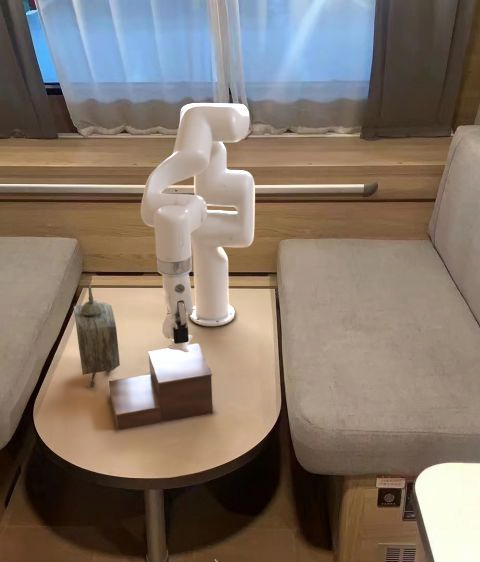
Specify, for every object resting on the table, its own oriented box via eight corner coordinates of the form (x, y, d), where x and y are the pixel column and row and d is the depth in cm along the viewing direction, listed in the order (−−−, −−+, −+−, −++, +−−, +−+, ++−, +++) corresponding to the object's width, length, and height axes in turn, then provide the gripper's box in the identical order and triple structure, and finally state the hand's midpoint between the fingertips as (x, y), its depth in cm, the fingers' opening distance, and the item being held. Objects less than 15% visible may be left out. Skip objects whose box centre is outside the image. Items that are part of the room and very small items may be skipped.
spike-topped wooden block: (80, 360, 195) (69, 274, 184) (115, 355, 197) (106, 269, 186) (85, 392, 183) (73, 302, 171) (122, 387, 185) (113, 297, 173)
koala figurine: (197, 353, 168) (195, 306, 163) (167, 358, 167) (164, 310, 161) (190, 335, 175) (188, 289, 170) (161, 338, 174) (158, 292, 169)
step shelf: (110, 396, 181) (106, 357, 176) (199, 381, 186) (198, 343, 181) (118, 430, 170) (113, 390, 165) (213, 413, 174) (212, 373, 169)
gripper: (200, 278, 156) (203, 352, 164) (182, 244, 170) (186, 314, 179) (164, 283, 154) (169, 357, 162) (149, 248, 169) (154, 318, 177)
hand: (178, 334), depth 170 cm, fingers closed on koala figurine, 5 cm apart
